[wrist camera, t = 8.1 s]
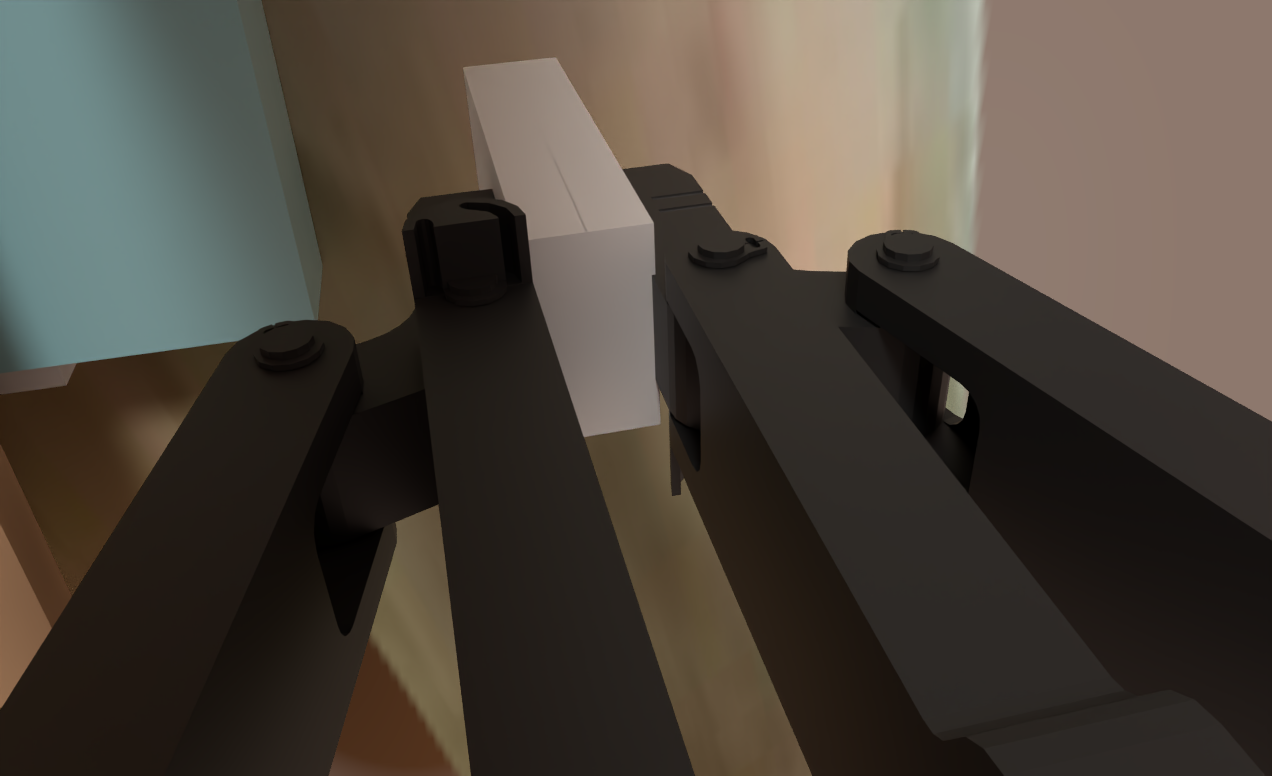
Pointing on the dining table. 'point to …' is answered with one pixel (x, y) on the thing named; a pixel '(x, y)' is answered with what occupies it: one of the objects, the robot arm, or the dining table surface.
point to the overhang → (25, 555)
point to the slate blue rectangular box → (145, 181)
